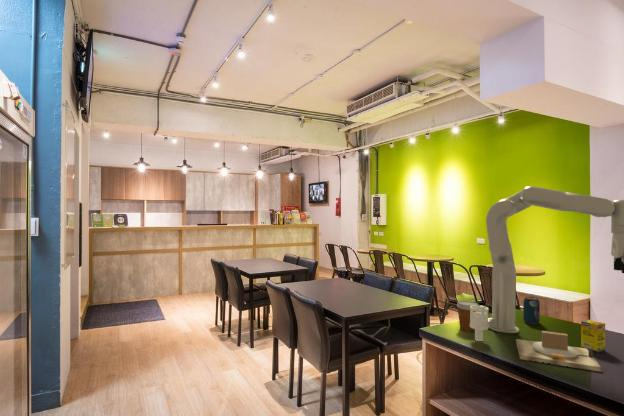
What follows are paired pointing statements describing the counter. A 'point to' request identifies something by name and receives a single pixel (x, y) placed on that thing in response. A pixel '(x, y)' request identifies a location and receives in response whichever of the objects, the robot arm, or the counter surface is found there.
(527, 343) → the level stand
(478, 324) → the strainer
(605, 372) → the counter surface
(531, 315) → the soda can
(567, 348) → the dial
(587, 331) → the supplement box
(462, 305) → the disposable coffee cup
